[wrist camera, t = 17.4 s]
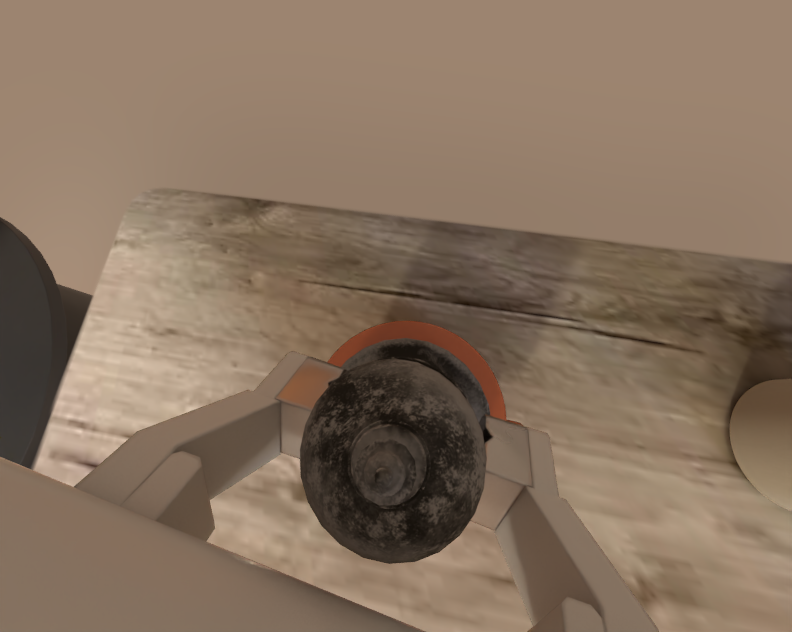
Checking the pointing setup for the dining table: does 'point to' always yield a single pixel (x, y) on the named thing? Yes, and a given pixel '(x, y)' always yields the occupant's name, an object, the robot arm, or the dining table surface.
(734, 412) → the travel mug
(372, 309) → the dining table surface
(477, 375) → the coffee cup
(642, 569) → the dining table surface
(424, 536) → the grey chess piece
